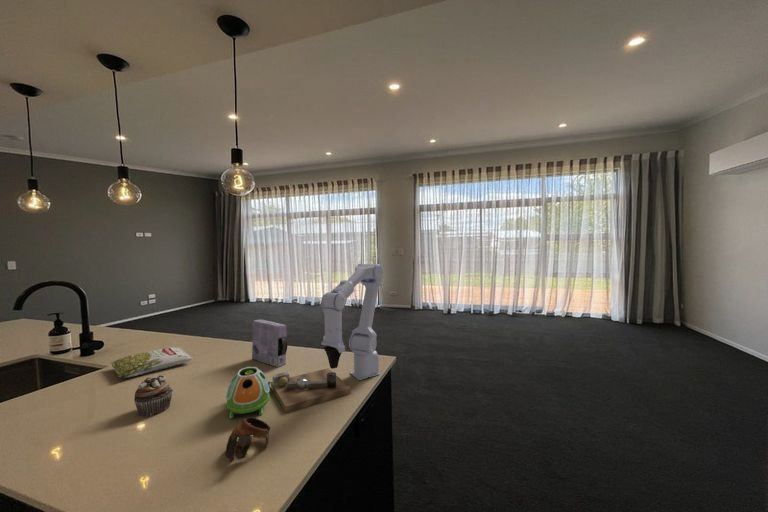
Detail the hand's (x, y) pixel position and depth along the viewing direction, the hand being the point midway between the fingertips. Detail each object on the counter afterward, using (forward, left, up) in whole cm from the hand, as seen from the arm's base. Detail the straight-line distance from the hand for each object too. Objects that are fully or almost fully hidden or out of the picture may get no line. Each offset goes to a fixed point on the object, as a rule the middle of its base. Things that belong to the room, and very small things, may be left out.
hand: (333, 367), depth 102 cm
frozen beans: (+55, -67, -10) cm, 87 cm away
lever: (+6, -5, -7) cm, 11 cm away
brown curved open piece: (+30, +14, -10) cm, 34 cm away
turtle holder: (+26, -8, -10) cm, 29 cm away
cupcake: (+51, -23, -10) cm, 57 cm away
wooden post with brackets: (+21, -14, -10) cm, 27 cm away
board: (+6, -8, -10) cm, 14 cm away
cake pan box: (+12, -44, -10) cm, 47 cm away
